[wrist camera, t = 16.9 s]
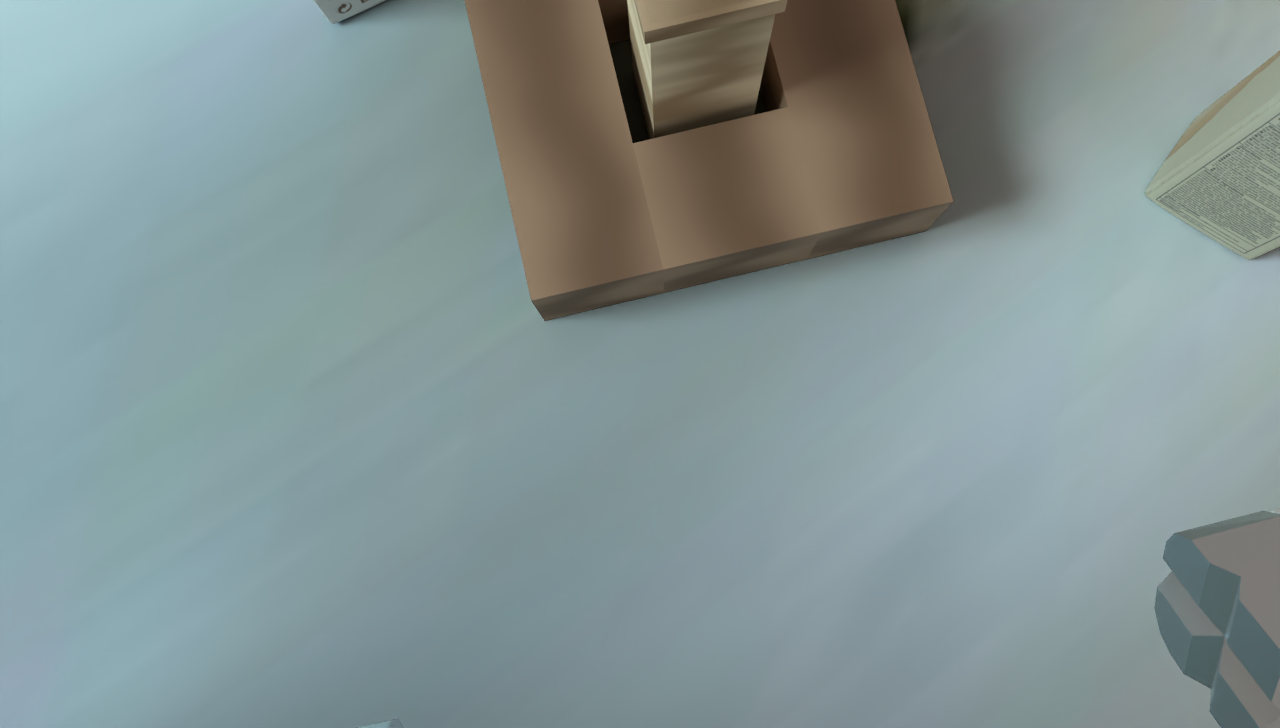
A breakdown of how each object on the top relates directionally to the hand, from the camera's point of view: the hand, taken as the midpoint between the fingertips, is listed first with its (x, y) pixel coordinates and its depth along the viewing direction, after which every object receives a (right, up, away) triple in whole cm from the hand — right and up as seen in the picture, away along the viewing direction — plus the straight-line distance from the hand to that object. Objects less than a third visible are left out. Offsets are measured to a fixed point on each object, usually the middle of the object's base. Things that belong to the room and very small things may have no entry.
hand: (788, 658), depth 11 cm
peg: (+1, +14, +32) cm, 35 cm away
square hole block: (+1, +14, +32) cm, 35 cm away
